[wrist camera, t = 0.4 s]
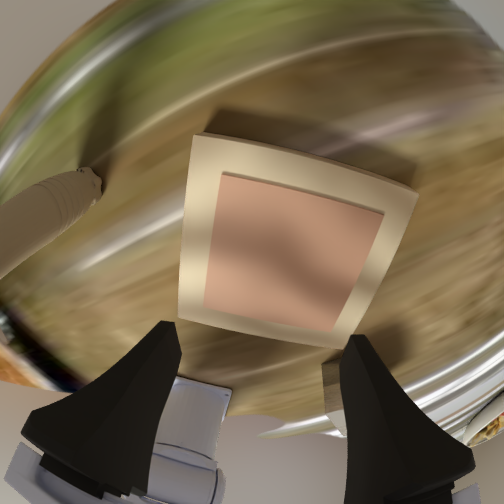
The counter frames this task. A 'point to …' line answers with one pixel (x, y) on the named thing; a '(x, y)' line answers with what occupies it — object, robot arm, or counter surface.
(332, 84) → the counter surface
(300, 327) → the stand
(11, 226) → the handle
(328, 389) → the block
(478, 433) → the bowl
